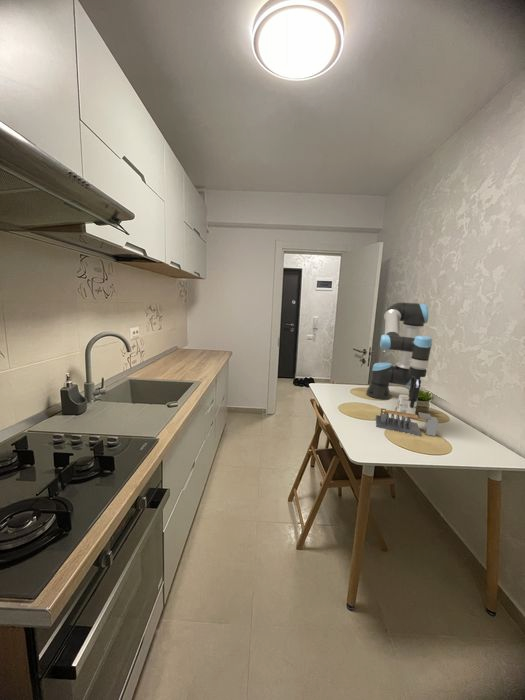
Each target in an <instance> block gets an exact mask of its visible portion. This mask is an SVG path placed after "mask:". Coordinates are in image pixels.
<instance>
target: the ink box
mask: <svg viewBox="0 0 525 700" xmlns="http://www.w3.org/2000/svg"><path fill="white" fill-rule="evenodd" d="M408 399H409V394H408V395H407V394H398V402H397V408H396V411H397V412H403V413H407V409H408V403H409V401H408ZM417 400H418V397H417ZM417 404H418V401H417V402H415V407H414V413H413V414H416V410H417ZM410 414H411V413H410ZM399 417H400V418H402V416H401V415H399ZM404 417H405V418H407V416H404ZM410 419H414V418H413V417H410Z"/></svg>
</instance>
